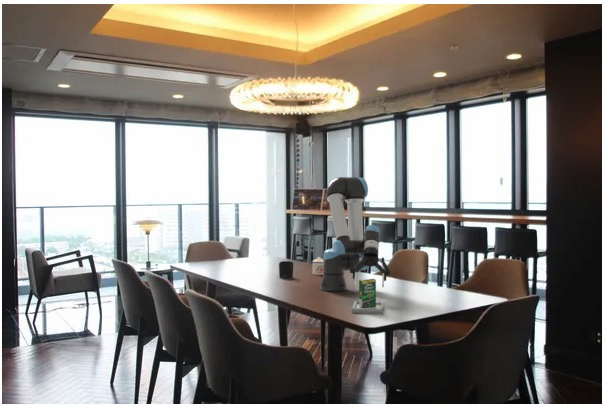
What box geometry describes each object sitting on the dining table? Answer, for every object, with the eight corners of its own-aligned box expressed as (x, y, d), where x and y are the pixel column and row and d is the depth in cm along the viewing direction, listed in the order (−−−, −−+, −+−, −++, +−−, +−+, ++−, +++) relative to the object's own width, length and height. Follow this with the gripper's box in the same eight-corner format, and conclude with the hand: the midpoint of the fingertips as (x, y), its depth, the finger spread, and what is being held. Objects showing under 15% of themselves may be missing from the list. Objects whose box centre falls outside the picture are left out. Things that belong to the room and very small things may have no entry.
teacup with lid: (316, 275, 346) (316, 258, 345) (309, 273, 354) (310, 256, 353) (331, 274, 351) (331, 257, 351) (325, 272, 359) (325, 255, 359)
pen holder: (275, 277, 336) (276, 262, 336) (286, 275, 343) (286, 260, 342) (286, 279, 329) (286, 263, 329) (296, 277, 336) (296, 262, 336)
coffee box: (361, 308, 241) (362, 280, 240) (358, 307, 243) (358, 279, 243) (376, 307, 244) (376, 279, 244) (372, 305, 247) (373, 278, 246)
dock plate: (351, 312, 237) (351, 308, 237) (354, 305, 253) (354, 301, 252) (382, 314, 234) (382, 309, 234) (383, 307, 250) (383, 302, 250)
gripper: (346, 245, 269) (343, 279, 255) (395, 247, 264) (394, 282, 250) (347, 254, 274) (344, 287, 260) (395, 256, 270) (394, 290, 256)
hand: (368, 285), depth 255 cm, fingers open, 13 cm apart
